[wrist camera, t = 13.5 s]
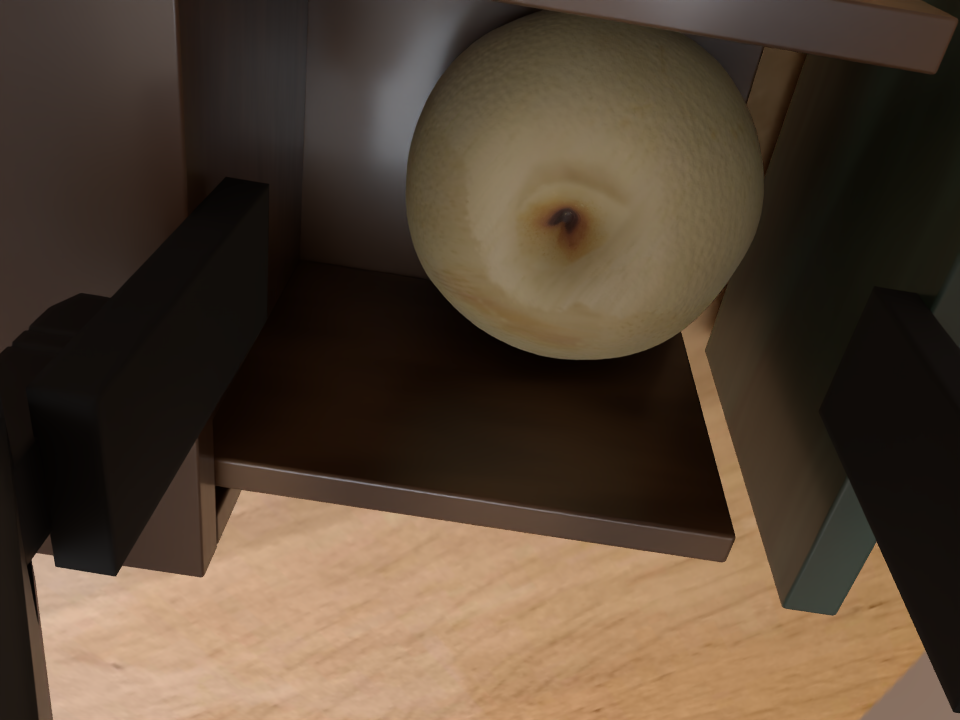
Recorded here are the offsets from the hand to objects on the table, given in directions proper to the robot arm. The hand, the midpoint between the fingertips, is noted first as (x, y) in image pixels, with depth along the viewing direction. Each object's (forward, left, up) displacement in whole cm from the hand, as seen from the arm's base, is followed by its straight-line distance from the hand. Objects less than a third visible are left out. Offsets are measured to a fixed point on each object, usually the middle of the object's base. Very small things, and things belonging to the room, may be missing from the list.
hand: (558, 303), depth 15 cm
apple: (-1, 0, -9) cm, 9 cm away
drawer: (-3, 0, -10) cm, 10 cm away
